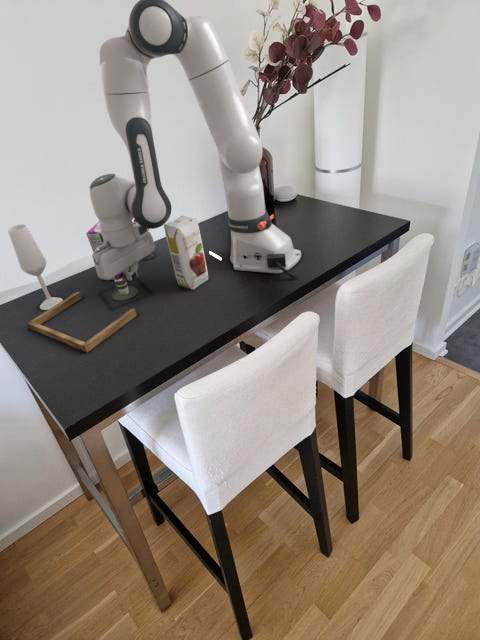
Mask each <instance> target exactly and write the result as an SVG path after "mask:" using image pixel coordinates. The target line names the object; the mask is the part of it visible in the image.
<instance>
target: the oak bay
mask: <svg viewBox="0 0 480 640" xmlns="http://www.w3.org/2000/svg"><path fill="white" fill-rule="evenodd" d="M82 299H83V297H82V295H81V292H80V291H77V292H75V293H73V294H72V295H70V296H68V297H66V298H65V299H63V301H62V302H60V303H59V304H57V305H55V306H54V307H52V308H50V309H49V310H45V311H44V312H42V313H41V314H39V315H38V316H35V318H33V319H31V320H29V321H28V322H27V323H26V324H27V326H28V328H29V329H30V330H31V331H34V332H36V333H39V334H41V335H44V336H46V337H49V338H51V339H54V340H56V341H58V342H61V343H63V344H65V345H68V346H70V347H73V348H74V349H77V350H80V351H81V352H82V351H83V352H85V353H86V354H87V353H89V352H90V351H93V349H95V348H96V347H97V346H99V345H100V344H102V342H104V341H105V340H106V339H107V338H109V337H110V336H112V335H114V333H116V332H117V331H118V330H120V329H121V328H123V327H124V326H125V325H126V324H128V323H129V322H131V321H132V320H133V319H134V318H136V317H137V316H138V314H137V312H136V309H135V308H130V309H129V310H127V312H125V313H124V314H122V315H121V316H120V317H118V318H117V319H115V320H114V321H113V322H111V323H110V324H109V325H107V326H106V327H104V328H103V329H102V330H100V331H99V332H98V333H96V334H95V335H94V336H92V337H91V338H89V339H87V341H86V342H85V341H83V340H81V339H79V338H78V339H77V338H76V337H72V336H70V335H68V334H65V333H63V332H60V331H58V330H55V329H53V328H50V327H47V326H45V325H43V324H44V323H45V322H47V321H49V320H50V319H52V318H53V317H55V316H56V315H59V314H60V313H62V312H63V311H64V310H66V309H68V308H69V307H71V306H72V305H74V304H75V303H77V302H78V301H80V300H82Z"/></svg>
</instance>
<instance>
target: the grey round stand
mask: <svg viewBox="0 0 480 640" xmlns="http://www.w3.org/2000/svg"><path fill="white" fill-rule="evenodd" d="M114 284H115V286H116V288H117V290H115V291H114V292H113V293H112V295H111V298H112V299H113V300H114V301H117V302H122V301H127V300H130V299H132V298H134V297H136V295H138V293H139V289H138V288H137V287H136V286H128V280H127V277H126V276H120V277H119V278H117V279H116V280H114Z"/></svg>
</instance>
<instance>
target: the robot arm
mask: <svg viewBox="0 0 480 640" xmlns="http://www.w3.org/2000/svg"><path fill="white" fill-rule="evenodd" d="M167 55H168V56H169V55H173V56H174V57H175V58H176V59H177V60H178V61H179V63H180V65H181V66H182V68H183V71H184V74H185V77H186V79H187V81H188V83H189V85H190V88H191V90H192V93H193V95H194V97H195V99H196V103H197V105H198V106H199V109H200V111H201V113H202V116H203V118H204V121H205V123H206V125H207V127H208V130H209V132H210V136H211V137H212V140H213V142H214V144H215V147H216V149H217V155H218V156H217V157H218V161H219V166H220V172H221V173H220V174H221V177H222V184H223V189H224V195H225V201H226V207H227V214H228V215H227V225H228V229H229V230H230V231H229V232H230V256H229V261H230V263H231V264H232V265H233V270H235V271H244V272H256V273H266V274H268V273H269V274H282V273H284V274H286V275H287V276H288V277H290V278H292V279H294V280H295V279H297V275H296V274H294V273H292V272H291V271H289V270H290V269H292V268H293V267H294V266H296V265H297V264H298V263H299V261H300V260H301V258H302V252H301V250H300V249H296V248H294V245H293V241H292V239H291V237H290V236H289V235H288V234H287V233H285V232H284V231H283V230H282V229H280V228H278V227H277V226H276V225H275V224H274V223H273V221H272V220H273V219H274V218H275V215H274V213H272V214H271V215H269V212H268V210H267V209H266V203H265V201H266V200H265V191H264V183H263V179H262V174H261V170H260V163H261V161H262V158H263V143H262V140H261V137H260V134H259V133H258V130H257V128H256V125H255V123H254V120H253V118H252V116H251V113H250V111H249V108H248V106H247V103H246V101H245V99H244V96H243V94H242V91H241V89H240V86H239V83H238V80H237V77H236V76H235V72H234V70H233V67H232V64H231V62H230V59H229V56H228V55H227V52H226V49H225V47H224V45H223V43H222V40H221V38H220V36H219V34H218V33H217V31H216V29H215V27H214V26H213V24H212V22H211V21H210V20H209V19H208V17H205V16H202V15H194V16H193V15H192V16H189V17H187V18H185V17H184V16H183V15H182V14H181V13H179V12H178V11H177V10H176V9H175V8H174V7H173V6H172V5H171V4H170V3H168V2H167V1H165V0H138V1H137V2H136V3H135V4H134V5H133V7H132V9H131V11H130V14H129V17H128V25H127V29H126V32H125V35H122V36H115V37H110V38H109V39H107V40H105V41H104V42H103V43H102V44H101V46H100V49H99V74H100V84H101V90H102V97H103V101H104V106H105V109H106V113H107V116H108V119H109V121H110V124H111V125H112V127H113V128H114V130H115V131H116V132H117V134H118V135H119V137H120V139H122V141H123V143H124V145H125V147H126V150H127V152H128V156H129V159H130V165H131V170H132V171H131V172H132V177H133V178H126V177H122V176H119V175H117V174H115V173H107V174H103V175H100V176H98V177H96V178H95V179H94V180H93V181H92V182H91V183H90V185H89V196H90V200H91V204H92V208H93V211H94V214H95V217H96V218H97V219H98V222H100V229H101V232H102V235H103V238H104V241H105V244H103V245H101V246H100V247H97V248H96V249H95V251H94V253H93V252H92V255H91V256H92V260H93V263H94V266H95V267H94V269H95V272H96V275H97V277H98V278H99V279H102V280H103V281H111V280H110V279H111V278H113V277H114V276H116V275H117V274H119V273H121V272H122V274H123V275H125V278H126V280H127V281H129V282H132V281H133V280H134V279H136V278H137V277H138V276H139V274H138V269H139V263H138V262H140V261H142V260H141V259H143V258H144V257H146V256H147V255H149V254H151V253H154V252H155V248H156V245H155V242H154V238H153V236H152V235H153V234H152V233H151V232H150V230H153V229H159V228H160V227H162V226H164V225H165V224H167V222H168V221H169V220H170V217H171V216H172V215H171V213H172V203H171V200H170V198H169V197H168V195H167V194H166V192H165V190H164V188H163V185H162V181H161V176H160V171H159V164H158V159H157V153H156V148H155V141H154V132H153V131H154V129H153V119H152V105H151V94H150V88H149V80H148V68H149V64H150V62H151V61H152V60H153V59H156V58H157V59H158V58H163V57H165V56H167ZM134 219H135V220H136V222H134V221H133V220H134ZM95 252H96V253H95ZM209 255H211V256H213V257H214V258H216V259H218V260H219V261H222V257H221V256H219V255H217V254H216V253H214V252H212V251H210V250H209ZM130 267H131V268H130Z"/></svg>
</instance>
